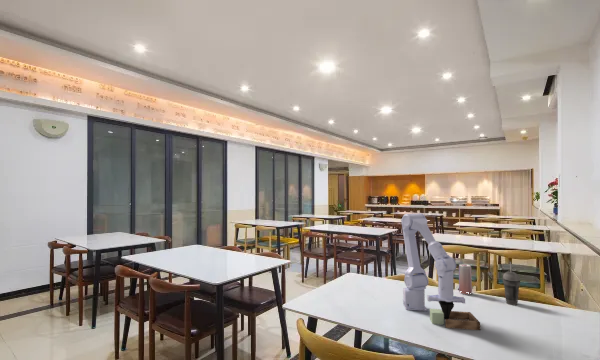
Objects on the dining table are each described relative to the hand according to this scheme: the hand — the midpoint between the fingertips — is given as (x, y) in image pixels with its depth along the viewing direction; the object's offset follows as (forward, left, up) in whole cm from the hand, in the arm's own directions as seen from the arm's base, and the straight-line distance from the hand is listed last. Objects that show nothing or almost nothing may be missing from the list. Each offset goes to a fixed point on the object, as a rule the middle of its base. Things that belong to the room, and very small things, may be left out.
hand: (446, 319), depth 130 cm
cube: (-4, 0, -1) cm, 4 cm away
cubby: (+4, 0, -1) cm, 4 cm away
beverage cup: (+38, +28, -2) cm, 47 cm away
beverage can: (+21, +40, -2) cm, 45 cm away
